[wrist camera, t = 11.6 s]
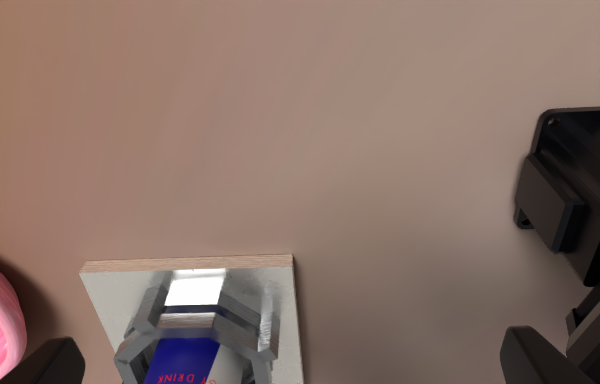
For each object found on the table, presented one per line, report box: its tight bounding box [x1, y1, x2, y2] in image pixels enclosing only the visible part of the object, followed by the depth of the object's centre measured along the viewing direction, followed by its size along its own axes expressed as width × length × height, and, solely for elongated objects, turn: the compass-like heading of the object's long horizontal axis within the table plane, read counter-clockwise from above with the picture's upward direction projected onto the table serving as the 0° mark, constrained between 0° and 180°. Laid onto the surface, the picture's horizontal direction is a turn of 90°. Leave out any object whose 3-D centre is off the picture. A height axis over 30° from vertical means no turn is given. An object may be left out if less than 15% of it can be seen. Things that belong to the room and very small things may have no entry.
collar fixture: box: [79, 254, 304, 384], centre depth 27 cm, size 12×12×4 cm
